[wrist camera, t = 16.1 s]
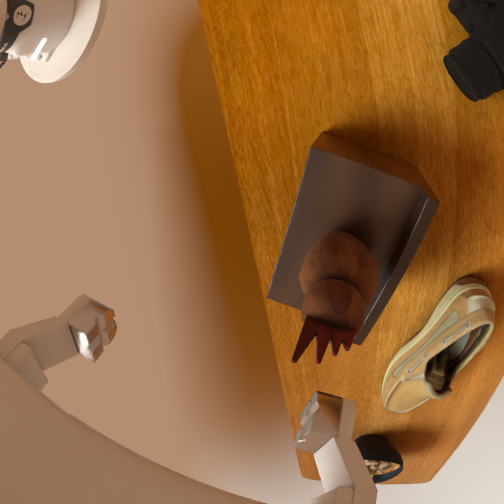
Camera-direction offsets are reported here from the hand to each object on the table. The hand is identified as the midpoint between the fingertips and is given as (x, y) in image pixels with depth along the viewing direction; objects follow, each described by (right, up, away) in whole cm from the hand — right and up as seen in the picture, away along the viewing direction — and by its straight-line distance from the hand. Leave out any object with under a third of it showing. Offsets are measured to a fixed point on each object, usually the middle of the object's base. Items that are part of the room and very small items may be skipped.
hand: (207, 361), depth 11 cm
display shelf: (+14, +9, +27) cm, 32 cm away
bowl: (+31, -42, +51) cm, 73 cm away
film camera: (+27, +26, +12) cm, 39 cm away
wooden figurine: (+11, +4, +20) cm, 23 cm away
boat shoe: (+30, -11, +33) cm, 46 cm away
